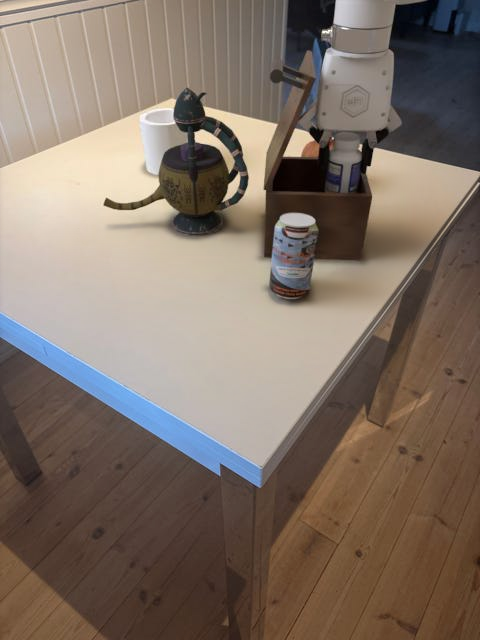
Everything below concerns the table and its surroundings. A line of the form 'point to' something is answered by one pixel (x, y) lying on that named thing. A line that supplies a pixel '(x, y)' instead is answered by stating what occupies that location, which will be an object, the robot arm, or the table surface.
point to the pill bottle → (344, 164)
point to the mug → (159, 136)
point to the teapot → (196, 172)
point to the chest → (318, 208)
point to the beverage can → (293, 255)
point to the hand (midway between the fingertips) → (343, 168)
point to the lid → (288, 110)
